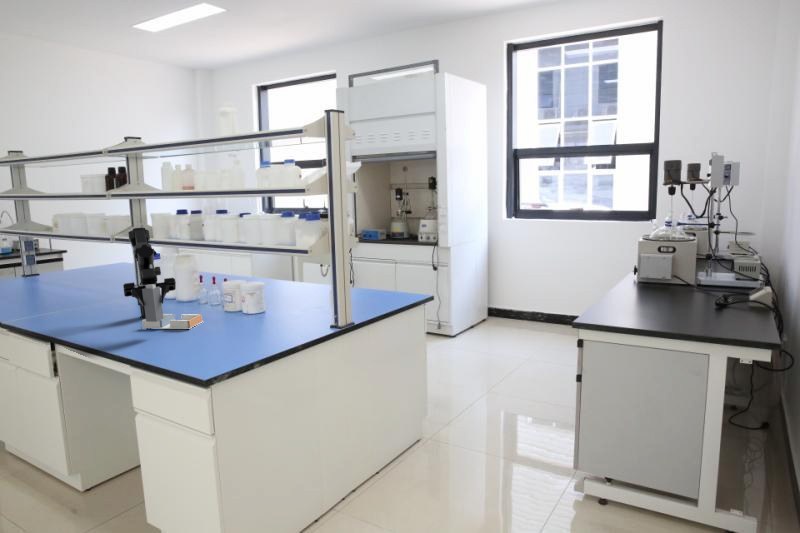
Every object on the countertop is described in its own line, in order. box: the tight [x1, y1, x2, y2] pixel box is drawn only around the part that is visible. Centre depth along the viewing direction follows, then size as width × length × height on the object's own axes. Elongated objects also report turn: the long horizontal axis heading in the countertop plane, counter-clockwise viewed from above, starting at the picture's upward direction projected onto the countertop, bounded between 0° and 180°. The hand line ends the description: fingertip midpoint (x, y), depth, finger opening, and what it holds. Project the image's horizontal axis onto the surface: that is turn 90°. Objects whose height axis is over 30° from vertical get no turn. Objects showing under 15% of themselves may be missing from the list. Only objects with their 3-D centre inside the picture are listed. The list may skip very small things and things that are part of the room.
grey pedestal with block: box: [142, 284, 164, 322], centre depth 208 cm, size 4×4×14 cm
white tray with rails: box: [140, 313, 204, 329], centre depth 224 cm, size 22×11×4 cm, turn 80°
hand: (153, 304), depth 207 cm, fingers closed on grey pedestal with block, 6 cm apart
